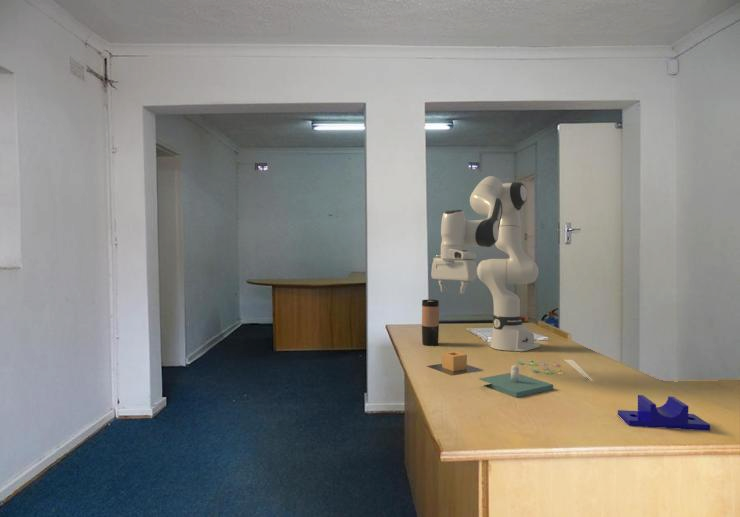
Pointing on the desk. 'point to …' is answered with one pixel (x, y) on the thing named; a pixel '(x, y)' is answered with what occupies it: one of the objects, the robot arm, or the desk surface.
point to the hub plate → (516, 383)
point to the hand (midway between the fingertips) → (452, 292)
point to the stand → (449, 372)
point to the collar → (454, 361)
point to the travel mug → (430, 322)
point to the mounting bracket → (663, 415)
